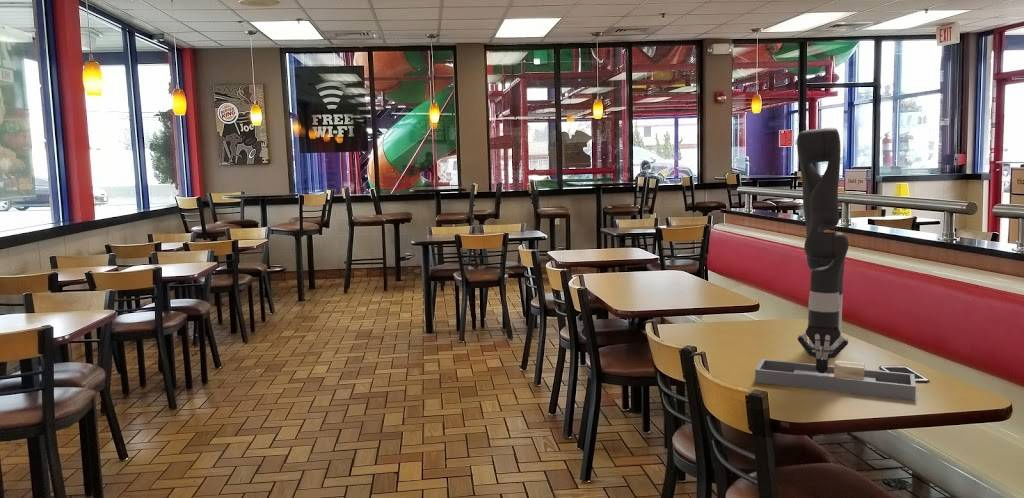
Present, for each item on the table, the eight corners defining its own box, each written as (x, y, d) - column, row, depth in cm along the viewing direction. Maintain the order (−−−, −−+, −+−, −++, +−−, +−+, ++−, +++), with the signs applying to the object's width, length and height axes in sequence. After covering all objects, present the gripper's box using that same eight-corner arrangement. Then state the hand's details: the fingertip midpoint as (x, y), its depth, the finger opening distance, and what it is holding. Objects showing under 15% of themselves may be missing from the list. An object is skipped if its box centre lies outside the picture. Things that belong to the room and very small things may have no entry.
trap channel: (761, 371, 218) (761, 359, 218) (913, 387, 202) (914, 374, 201) (754, 382, 207) (755, 369, 207) (915, 400, 191) (915, 386, 191)
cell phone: (900, 384, 206) (901, 380, 206) (877, 368, 221) (877, 365, 221) (930, 384, 206) (931, 380, 206) (905, 368, 220) (905, 365, 220)
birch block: (835, 375, 206) (835, 360, 206) (864, 378, 203) (864, 363, 203) (833, 380, 202) (834, 365, 201) (863, 383, 199) (864, 368, 198)
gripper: (851, 307, 204) (849, 371, 206) (798, 303, 210) (796, 366, 212) (851, 312, 197) (848, 379, 199) (795, 308, 203) (793, 373, 205)
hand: (821, 372), depth 206 cm, fingers closed
